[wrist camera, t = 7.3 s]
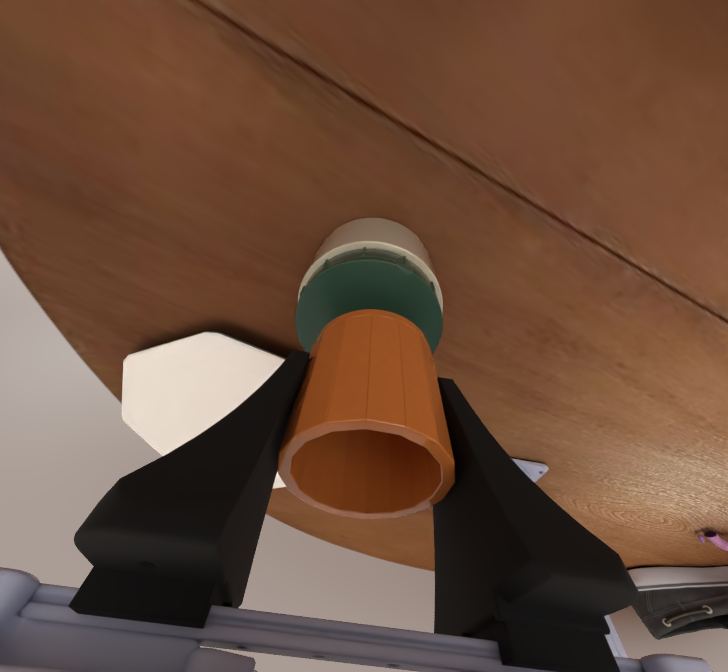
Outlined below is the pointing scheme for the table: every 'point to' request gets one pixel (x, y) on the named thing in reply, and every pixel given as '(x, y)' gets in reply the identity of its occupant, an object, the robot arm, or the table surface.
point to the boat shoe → (681, 599)
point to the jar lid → (368, 293)
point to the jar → (375, 245)
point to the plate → (191, 386)
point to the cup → (368, 421)
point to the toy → (715, 540)
